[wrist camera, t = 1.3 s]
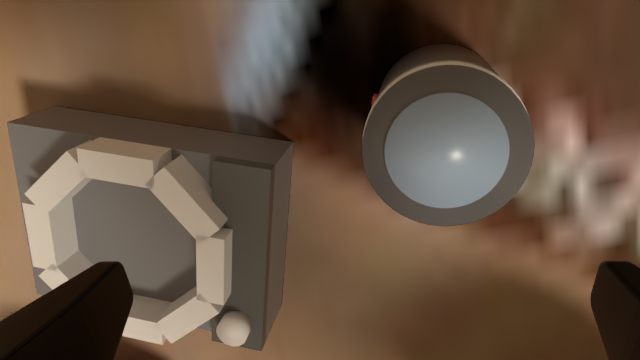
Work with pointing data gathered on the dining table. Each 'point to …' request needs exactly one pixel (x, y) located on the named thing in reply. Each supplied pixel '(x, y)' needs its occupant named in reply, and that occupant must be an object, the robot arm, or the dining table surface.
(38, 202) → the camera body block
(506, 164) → the lens
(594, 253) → the dining table surface
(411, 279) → the dining table surface
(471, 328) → the dining table surface
